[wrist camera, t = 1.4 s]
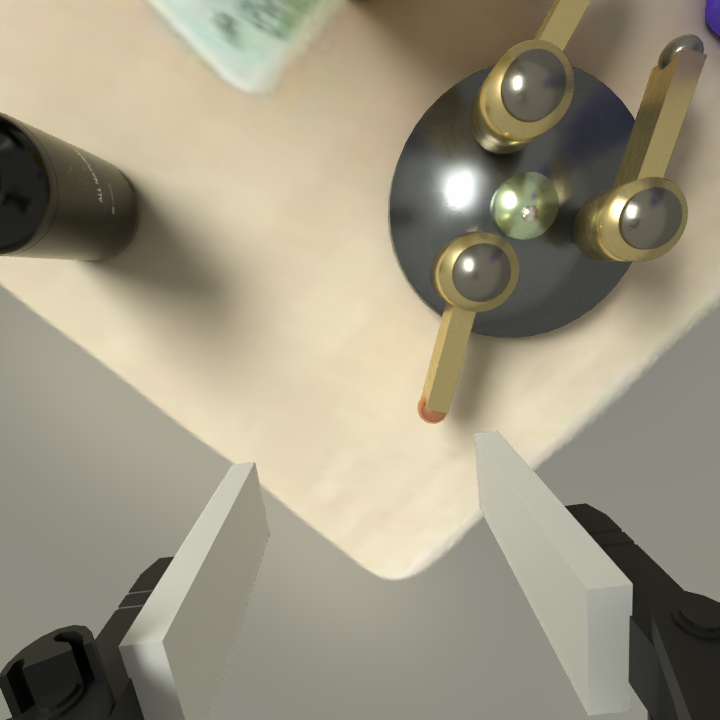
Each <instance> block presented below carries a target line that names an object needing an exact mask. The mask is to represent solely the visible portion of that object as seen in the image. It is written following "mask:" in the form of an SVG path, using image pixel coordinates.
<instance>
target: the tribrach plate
mask: <svg viewBox="0 0 720 720" xmlns="http://www.w3.org/2000/svg"><path fill="white" fill-rule="evenodd" d="M493 67H494V66H491V67H488V68H486V69H484V70H481V71H479V72H476V73H474V74H472V75H470V76H469V77H467V78H465V79H464V80H462V81H460V82H459V83H457V84H456V85H454V86H453V87H452V88H450V89H449V90H448V91H447V92H445V93H444V94H443V95H442V96H441V97H440V98H439V99H438V100H437V101H436V102H435V103H434V104H433V105H432V106H431V107H430V108H429V109H428V110H427V111H426V113H425V114H424V115H423V117H422V118H421V119H420V121H419V122H418V123H417V125H416V126H415V128H414V129H413V131H412V133H411V135H410V136H409V138H408V140H407V142H406V144H405V146H404V148H403V151H402V153H401V156H400V158H399V160H398V163H397V165H396V169H395V172H394V176H393V179H392V183H391V189H390V195H389V207H388V221H389V232H390V238H391V242H392V247H393V251H394V254H395V257H396V259H397V262H398V265H399V267H400V269H401V271H402V273H403V275H404V277H405V279H406V280H407V282H408V283H409V285H410V286H411V288H412V289H413V290H414V292H415V293H416V294H417V295H418V296H419V297H420V299H421V300H422V301H423V302H424V303H425V304H426V305H427V306H429V307H430V308H431V309H432V310H433V311H435V312H436V313H437V314H439V315H440V316H443V312H444V308H445V305H446V302H445V301H443V300H442V299H441V298H440V297H439V296H438V295H437V294H436V293H435V291H434V289H433V287H432V284H431V281H430V267H431V263H432V260H433V258H434V256H435V254H436V253H437V251H438V250H439V249H440V248H441V247H442V246H443V245H444V244H446V243H447V242H449V241H451V240H453V239H456V238H460V237H463V236H466V235H470V234H474V233H480V232H486V233H492V234H495V235H498V236H500V237H501V238H503V239H504V240H506V241H507V242H508V243H509V244H510V245H511V247H512V248H513V250H514V251H515V253H516V256H517V259H518V263H519V277H518V281H517V284H516V287H515V288H514V290H513V292H512V294H511V295H510V296H509V297H508V299H507V300H506V301H504V302H503V303H502V304H501V305H499V306H498V307H496V308H494V309H491V310H488V311H484V312H476V314H475V318H474V321H473V325H472V329H471V331H472V332H476V333H479V334H483V335H488V336H495V337H515V338H516V337H525V336H532V335H537V334H541V333H545V332H548V331H551V330H554V329H556V328H559V327H562V326H564V325H566V324H568V323H570V322H572V321H574V320H575V319H577V318H579V317H580V316H582V315H583V314H585V313H586V312H588V311H589V310H591V309H592V308H593V307H594V306H595V305H597V304H598V303H599V302H600V301H601V300H602V299H604V298H605V297H606V296H607V294H608V293H609V292H610V291H611V290H612V289H613V288H614V287H615V286H616V285H617V283H618V282H619V281H620V279H621V278H622V276H623V275H624V274H625V272H626V271H627V269H628V268H629V266H630V264H631V262H632V261H614V262H599V261H595V260H592V259H590V258H588V257H586V256H585V255H584V254H583V253H582V252H581V251H580V250H579V249H578V247H577V245H576V243H575V239H574V234H573V227H574V221H575V218H576V215H577V213H578V211H579V209H580V208H581V206H582V205H583V204H584V203H585V201H587V200H588V199H589V198H590V197H591V196H593V195H595V194H596V193H599V192H601V191H604V190H607V189H611V188H613V186H614V183H615V180H616V177H617V174H618V171H619V168H620V165H621V162H622V159H623V156H624V153H625V150H626V147H627V144H628V141H629V138H630V135H631V132H632V129H633V126H634V123H635V120H634V118H633V116H632V114H631V113H630V112H629V110H628V109H627V107H626V106H625V105H624V103H623V102H622V101H621V100H620V99H619V98H618V97H617V96H616V95H615V94H614V93H613V92H612V90H611V89H610V88H608V87H607V86H606V85H604V84H603V83H602V82H600V81H599V80H598V79H596V78H595V77H593V76H591V75H589V74H587V73H585V72H584V71H582V70H580V69H577V68H574V67H572V70H573V74H574V92H573V96H572V100H571V103H570V105H569V107H568V109H567V111H566V113H565V114H564V116H563V117H562V118H561V119H560V121H559V122H557V123H556V124H555V125H554V126H553V127H551V128H550V129H549V130H547V131H546V132H544V133H543V134H542V135H540V136H539V137H538V138H536V139H535V140H533V141H532V142H531V143H529V144H528V145H526V146H525V147H524V148H522V149H520V150H518V151H516V152H513V153H509V154H498V153H494V152H491V151H489V150H487V149H485V148H484V147H483V146H482V145H481V144H480V143H479V142H478V141H477V140H476V138H475V136H474V134H473V132H472V129H471V126H470V108H471V104H472V100H473V98H474V96H475V94H476V92H477V91H478V89H479V88H480V86H481V85H482V83H483V82H484V81H485V79H486V78H487V76H488V75H489V73H490V72H491V70H492V69H493Z"/></svg>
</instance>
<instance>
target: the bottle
mask: <svg viewBox="0 0 720 720" xmlns="http://www.w3.org/2000/svg"><path fill="white" fill-rule="evenodd" d="M705 21H706V23H707V24H708V25H709V26H710V28H711V29H712V30H713V31H714V32H715V33H716V34H717V35H719V36H720V0H707V4H706V16H705Z"/></svg>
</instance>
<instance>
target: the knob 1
mask: <svg viewBox="0 0 720 720" xmlns="http://www.w3.org/2000/svg"><path fill="white" fill-rule="evenodd" d="M518 277H519V263H518V259H517V256H516V253H515V251H514V250H513V248H512V247H511V245H510V244H509V243H508V242H507V241H506V240H504V239H503V238H501V237H500V236H498V235H495V234H492V233H486V232H480V233H474V234H470V235H466V236H463V237H460V238H456V239H453V240H451V241H449V242H447V243H446V244H444V245H443V246H442V247H441V248H440V249H439V250H438V251H437V253H436V254H435V256H434V258H433V260H432V263H431V267H430V281H431V284H432V287H433V289H434V291H435V293H436V294H437V295H438V296H439V297H440V298H441V299H442V300H443V301H445V302H446V305H445V308H444V312H443V316H442V320H441V324H440V327H439V331H438V335H437V339H436V342H435V346H434V350H433V354H432V358H431V361H430V365H429V369H428V373H427V377H426V380H425V384H424V388H423V392H422V395H421V399H420V401H419V403H418V413H419V415H420V417H421V418H422V419H423V420H424V421H425V422H427V423H431V424H436V423H439V422H441V421H443V420H444V419H445V418H446V416H447V414H448V410H449V407H450V403H451V400H452V396H453V392H454V389H455V385H456V382H457V378H458V375H459V371H460V368H461V364H462V360H463V357H464V353H465V350H466V346H467V343H468V339H469V336H470V332H471V329H472V325H473V321H474V318H475V314H476V312H484V311H488V310H491V309H494V308H496V307H498V306H499V305H501V304H502V303H503V302H504V301H506V300H507V299H508V297H509V296H510V295H511V294H512V292H513V290H514V288H515V287H516V284H517V281H518Z"/></svg>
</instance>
